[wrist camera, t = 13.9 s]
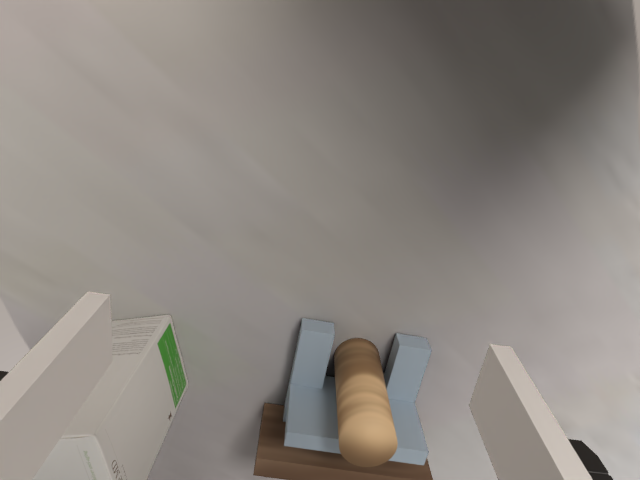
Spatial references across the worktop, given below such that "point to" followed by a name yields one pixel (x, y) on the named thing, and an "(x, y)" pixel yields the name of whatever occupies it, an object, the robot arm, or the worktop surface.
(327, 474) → the board
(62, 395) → the robot arm
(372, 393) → the dowel
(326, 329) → the fork block
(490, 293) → the worktop surface
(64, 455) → the skincare box
